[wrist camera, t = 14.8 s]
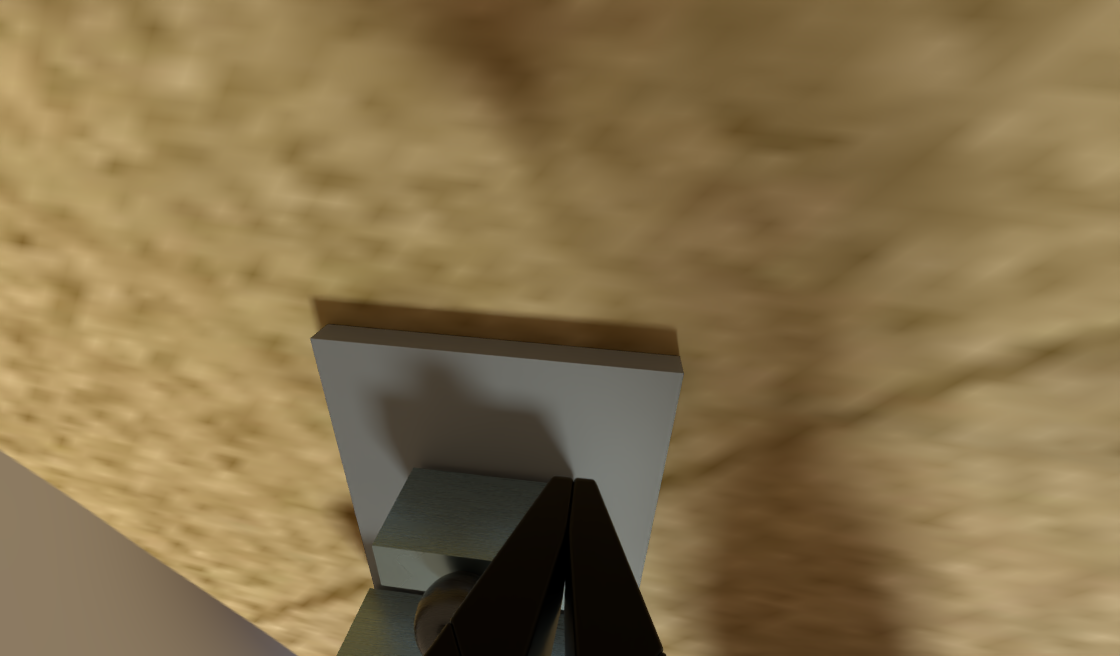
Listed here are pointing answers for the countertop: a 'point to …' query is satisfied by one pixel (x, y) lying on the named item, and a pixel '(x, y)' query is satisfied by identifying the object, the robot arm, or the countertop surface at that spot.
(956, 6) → the countertop surface
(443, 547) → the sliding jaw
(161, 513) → the countertop surface
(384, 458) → the vise bed
